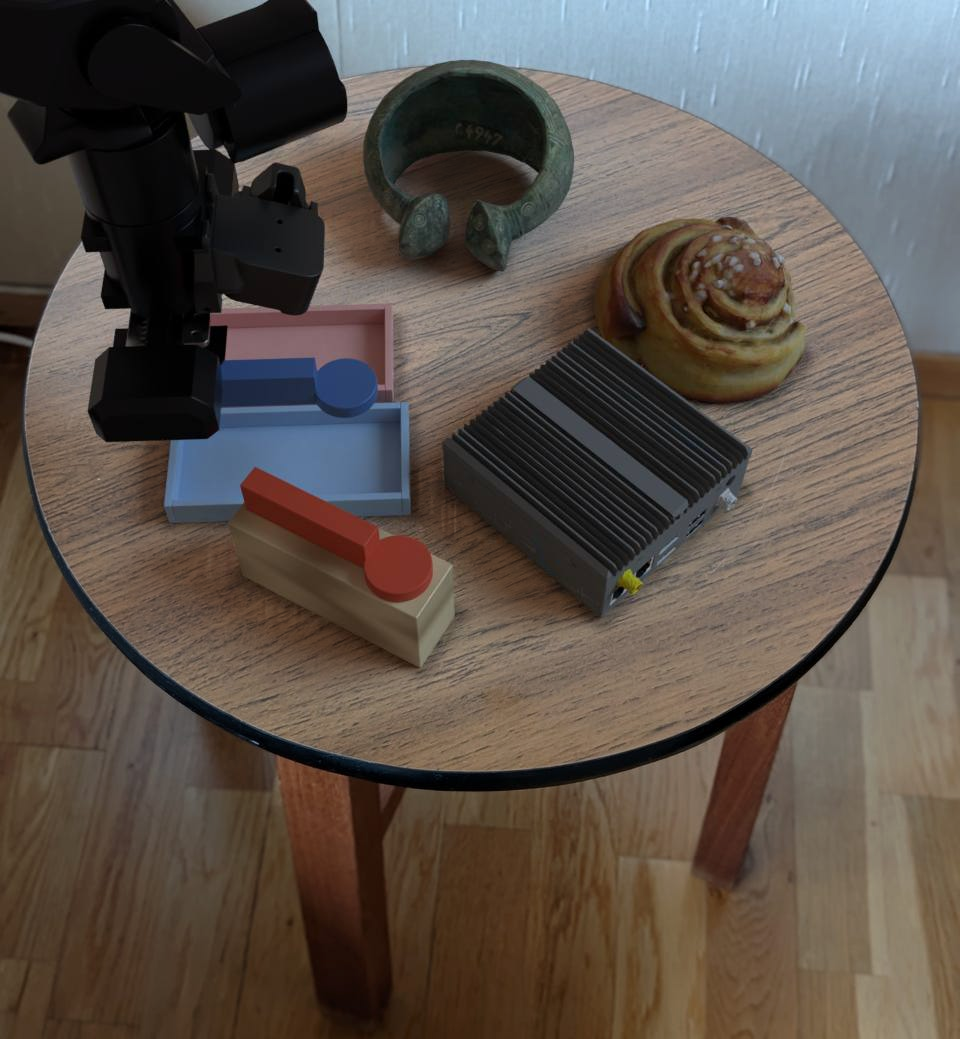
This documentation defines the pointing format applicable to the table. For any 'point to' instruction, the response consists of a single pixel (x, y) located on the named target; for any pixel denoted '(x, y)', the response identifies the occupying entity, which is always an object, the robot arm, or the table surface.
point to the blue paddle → (300, 384)
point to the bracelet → (467, 127)
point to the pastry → (702, 309)
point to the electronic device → (595, 470)
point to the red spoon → (343, 536)
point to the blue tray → (295, 460)
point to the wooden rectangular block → (343, 588)
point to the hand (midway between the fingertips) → (196, 387)
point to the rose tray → (315, 337)
